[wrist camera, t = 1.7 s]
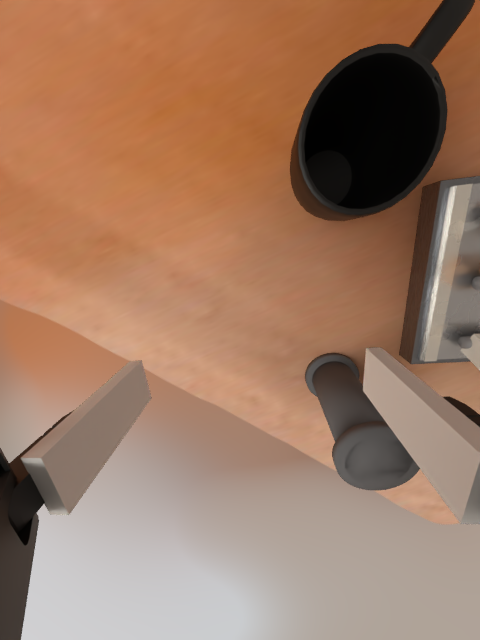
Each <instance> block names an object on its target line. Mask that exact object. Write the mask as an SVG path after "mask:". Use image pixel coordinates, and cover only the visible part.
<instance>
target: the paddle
mask: <svg viewBox="0 0 480 640" xmlns="http://www.w3.org/2000/svg"><path fill="white" fill-rule="evenodd" d="M458 344H459V346H460V347H461V348H462V349H461V350H460V351H461V352H462V353H463V354H464V355H465V356H466V357H467V358H468V359H469V360H470V361H471V362H472V363H473V364H474V365H475V366H476V367H477V368H478V369H479V371H480V334H473V335H472V336H466V337H460V338H459V339H458Z"/></svg>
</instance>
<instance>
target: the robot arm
mask: <svg viewBox="0 0 480 640" xmlns="http://www.w3.org/2000/svg"><path fill="white" fill-rule="evenodd" d="M363 392H364V393H365V394H366V396H367V397H368V398H369V400H370V401H371V402H372V404H373V405H374V407H375V408H376V409H377V411H378V412H379V413H380V415H381V416H382V417H383V419H384V420H385V422H386V423H387V424H388V426H389V427H390V428H391V430H392V431H393V432H394V434H395V435H396V437H397V438H398V439H399V441H400V442H401V443H402V445H403V446H404V447H405V449H406V450H407V452H408V453H409V454H410V456H411V457H412V458H413V460H414V461H415V462H416V464H417V465H418V466H419V468H420V469H421V471H422V472H423V473H424V475H425V476H426V477H427V479H428V480H429V481H430V483H431V484H432V486H433V487H434V488H435V490H436V491H437V492H438V494H439V495H440V496H441V498H442V499H443V501H444V502H445V503H446V505H447V506H448V507H449V509H450V510H451V511H452V513H453V514H454V516H455V517H456V518H457V520H458V521H459V522H460V524H480V415H479V414H478V413H477V412H475V411H474V410H473V409H471V408H470V407H469V406H467V405H466V404H464V403H462V402H460V401H458V400H456V399H454V398H452V397H442V396H440V395H439V394H438V393H437V392H435V391H434V390H433V389H432V388H431V387H429V386H428V385H427V384H426V383H424V382H423V381H422V380H421V379H419V378H418V377H417V376H416V375H414V374H413V373H412V372H411V371H410V370H408V369H407V368H406V367H405V366H403V365H402V364H401V363H400V362H398V361H397V360H396V359H395V358H393V357H392V356H391V355H390V354H389V353H387V352H386V351H385V350H384V349H382V348H381V347H376V348H366V356H365V368H364V381H363ZM150 400H151V394H150V390H149V386H148V383H147V379H146V375H145V371H144V367H143V363H142V360H141V361H130V362H129V363H127V364H126V365H125V366H124V367H123V368H122V369H121V370H120V371H119V372H117V373H116V374H115V375H114V376H113V377H111V378H110V379H109V380H108V381H107V382H106V383H105V384H104V385H102V386H101V387H100V388H99V389H98V390H97V391H96V392H95V393H94V394H92V395H91V396H90V397H89V398H88V399H87V400H86V401H84V402H83V403H82V404H81V405H80V406H79V407H78V408H76V409H75V410H74V411H72V412H70V413H69V414H67V415H66V416H64V417H62V418H61V419H60V420H59V421H58V422H57V423H56V424H54V425H53V426H52V428H50V429H49V430H48V431H46V432H45V433H44V435H43V436H41V437H39V438H38V439H37V440H36V441H35V442H34V443H33V444H31V445H30V446H29V447H28V448H27V449H26V450H24V451H23V452H22V453H21V454H20V455H19V456H17V457H16V458H15V459H14V460H13V461H12V462H11V463H8V461H7V459H6V457H5V456H4V454H3V452H2V450H1V448H0V640H21V634H22V627H23V621H24V615H25V607H26V602H27V595H28V587H29V582H30V575H31V568H32V562H33V556H34V549H35V543H36V536H37V530H38V523H39V520H38V515H37V513H36V512H37V511H38V510H39V509H40V508H41V506H42V505H43V504H45V506H46V507H47V509H48V511H49V513H50V514H56V515H69V514H70V513H71V511H72V510H73V509H74V507H75V506H76V504H77V503H78V501H79V500H80V499H81V497H82V496H83V494H84V493H85V492H86V490H87V489H88V487H89V486H90V484H91V483H92V482H93V480H94V479H95V477H96V476H97V474H98V473H99V472H100V470H101V469H102V468H103V466H104V465H105V463H106V462H107V461H108V459H109V457H110V456H111V455H112V453H113V452H114V451H115V449H116V448H117V446H118V445H119V444H120V442H121V441H122V439H123V438H124V436H125V435H126V434H127V432H128V431H129V429H130V428H131V427H132V425H133V424H134V422H135V421H136V419H137V418H138V417H139V415H140V414H141V412H142V411H143V409H144V408H145V407H146V405H147V404H148V403H149V401H150Z"/></svg>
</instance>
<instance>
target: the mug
mask: <svg viewBox="0 0 480 640" xmlns="http://www.w3.org/2000/svg"><path fill="white" fill-rule="evenodd" d="M474 3H475V0H443V1H442V3H441V4H440V6H439V7H438V8H437V10H436V11H435V12H434V14H433V15H432V16H431V18H430V19H429V21H428V22H427V23H426V25H425V26H424V27H423V29H422V30H421V32H420V33H419V34H418V36H417V37H416V38H415V40H414V41H413V42H412V44H411V45H410V47H406V46H402V45H399V44H377V45H374V46H371V47H367V48H364V49H360V50H359V51H357V52H355V53H353V54H352V55H350V56H348V57H347V58H345V59H343V60H342V61H341V62H340V63H339V64H337V65H336V66H335V67H334V68H333V69H332V70H331V71H330V72H329V73H327V74H326V75H325V77H324V78H323V80H322V81H321V82H320V84H319V85H318V86H317V88H316V89H315V90H314V92H313V93H312V95H311V97H310V99H309V101H308V103H307V106H306V108H305V110H304V112H303V115H302V118H301V121H300V124H299V127H298V130H297V134H296V137H295V140H294V144H293V147H292V152H291V162H290V176H291V185H292V188H293V191H294V194H295V197H296V198H297V200H298V202H299V203H300V205H301V206H302V207H303V208H304V209H305V210H306V211H307V212H309V213H311V214H312V215H314V216H316V217H319V218H322V219H326V220H336V221H345V220H350V219H356V218H360V217H364V216H368V215H372V214H376V213H378V212H380V211H383V210H385V209H387V208H390V207H392V206H393V205H395V204H396V203H398V202H399V201H400V200H402V199H403V198H405V197H406V196H407V195H408V194H409V193H410V192H411V191H412V190H413V189H414V188H415V187H416V186H417V185H418V184H419V183H420V182H421V181H422V179H423V178H424V177H425V175H426V174H427V172H428V171H429V170H430V168H431V167H432V165H433V163H434V161H435V158H436V156H437V154H438V152H439V150H440V148H441V144H442V141H443V137H444V134H445V130H446V120H447V102H446V95H445V89H444V87H443V84H442V81H441V79H440V76H439V74H438V72H437V71H436V69H435V68H434V67H433V65H432V64H431V63H432V62H433V61H434V59H435V58H436V57H437V55H438V54H439V53H440V51H441V50H442V49H443V47H444V46H445V45H446V43H447V42H448V41H449V39H450V38H451V37H452V35H453V34H454V33H455V31H456V30H457V29H458V27H459V26H460V25H461V23H462V22H463V21H464V19H465V18H466V16H467V15H468V14H469V12H470V11H471V9H472V7H473V5H474Z"/></svg>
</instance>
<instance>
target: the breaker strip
mask: <svg viewBox="0 0 480 640" xmlns="http://www.w3.org/2000/svg"><path fill="white" fill-rule="evenodd" d="M475 277H480V176H475V177H468V178H460V179H452V180H444V181H439V182H436V183H433V184H431V185H428V186H425V187H423V191H422V198H421V205H420V212H419V219H418V226H417V233H416V240H415V248H414V255H413V262H412V269H411V276H410V283H409V290H408V297H407V304H406V311H405V318H404V325H403V332H402V339H401V346H400V353H399V355H400V356H401V357H403V358H404V359H405V360H407V361H408V362H409V363H410V364H424V363H446V362H468V361H470V360H469V359H468V358H467V357H466V356H465V355H464V354H463V353H462V352H461V351H460V350H461V349H462V348H461V347H460V346H459V344H458V339H459V338H460V337H466V336H472V335H473V334H480V290H475V289H474V288H473V287H472V284H471V283H472V280H473V279H474V278H475Z"/></svg>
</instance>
